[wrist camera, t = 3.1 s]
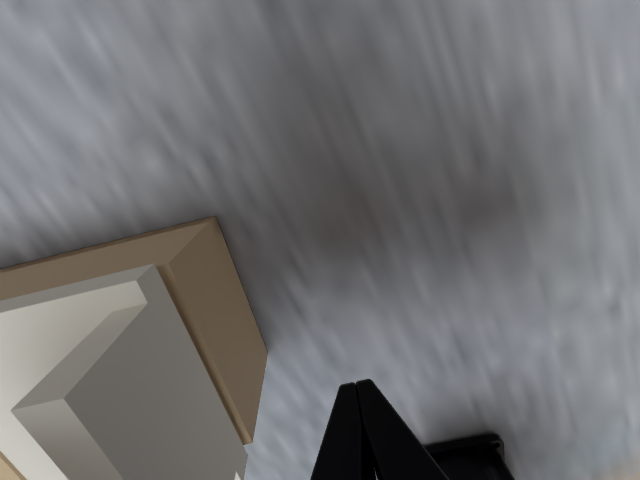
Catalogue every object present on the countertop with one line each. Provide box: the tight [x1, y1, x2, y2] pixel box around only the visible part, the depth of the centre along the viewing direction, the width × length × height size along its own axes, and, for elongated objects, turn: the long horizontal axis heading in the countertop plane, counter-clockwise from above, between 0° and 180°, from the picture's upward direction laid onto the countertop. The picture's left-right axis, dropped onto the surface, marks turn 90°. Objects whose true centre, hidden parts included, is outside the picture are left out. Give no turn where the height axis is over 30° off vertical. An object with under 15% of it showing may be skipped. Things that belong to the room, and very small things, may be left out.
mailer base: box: [0, 216, 268, 445], centre depth 13 cm, size 16×8×5 cm, turn 104°
